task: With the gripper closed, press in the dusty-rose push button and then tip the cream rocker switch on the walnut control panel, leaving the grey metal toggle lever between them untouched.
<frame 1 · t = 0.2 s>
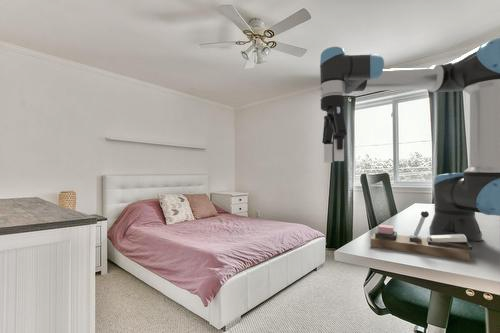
hand: (333, 162, 82), 27 cm above the table, tool pointing down, fingers open, 13 cm apart
toggle lever: (420, 223, 77), point 8 cm above the table, hinge at -20.0°
push button: (386, 229, 82), point 5 cm above the table, slide at 0.0 cm
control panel: (415, 248, 78), on the table
rocker switch: (447, 238, 73), point 4 cm above the table, hinge at 10.0°
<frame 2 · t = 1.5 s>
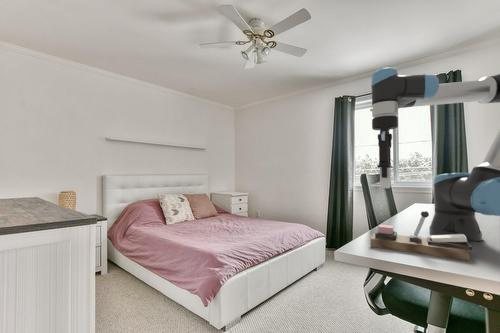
hand: (385, 187, 82), 19 cm above the table, tool pointing down, fingers open, 4 cm apart
nothing on the table moved.
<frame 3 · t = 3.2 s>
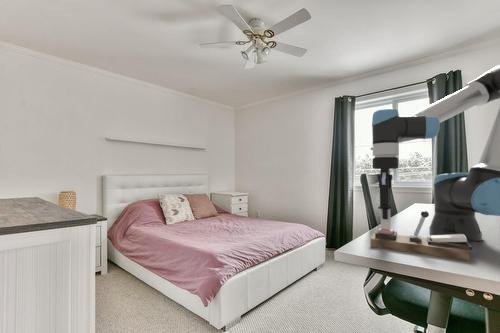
hand: (385, 228, 82), 5 cm above the table, tool pointing down, fingers closed
push button: (386, 232, 82), point 4 cm above the table, slide at 1.1 cm, touching gripper
everything else where it was.
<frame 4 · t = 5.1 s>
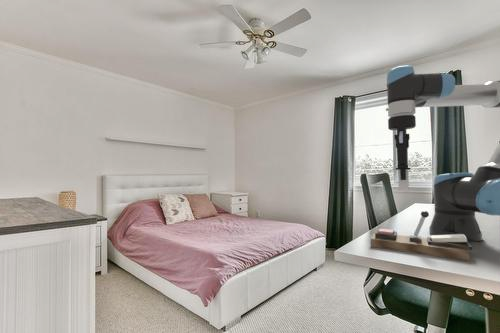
hand: (403, 190, 80), 18 cm above the table, tool pointing down, fingers closed
push button: (386, 233, 82), point 4 cm above the table, slide at 1.4 cm
everything else where it was.
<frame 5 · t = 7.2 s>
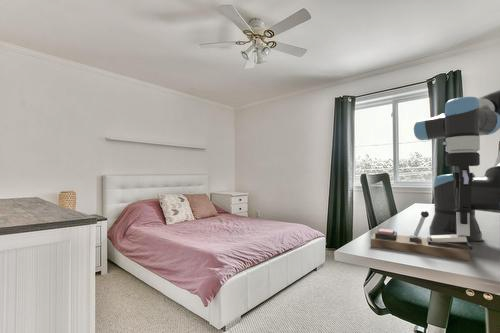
hand: (463, 234, 72), 6 cm above the table, tool pointing down, fingers closed
rocker switch: (447, 238, 73), point 4 cm above the table, hinge at 10.0°, touching gripper
everything else where it was.
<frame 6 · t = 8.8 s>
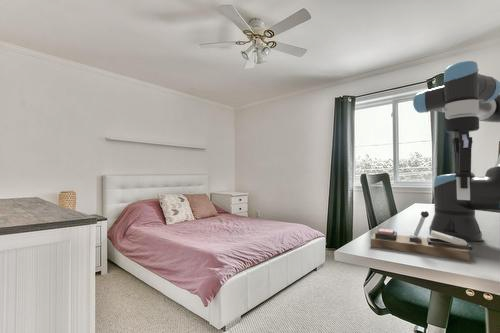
hand: (463, 199, 72), 16 cm above the table, tool pointing down, fingers closed
rocker switch: (448, 238, 73), point 4 cm above the table, hinge at -14.5°
everything else where it was.
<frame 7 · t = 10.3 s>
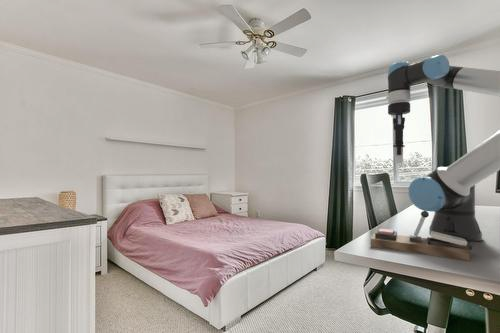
hand: (398, 163, 98), 27 cm above the table, tool pointing down, fingers closed
rocker switch: (448, 238, 73), point 4 cm above the table, hinge at -10.0°
everything else where it was.
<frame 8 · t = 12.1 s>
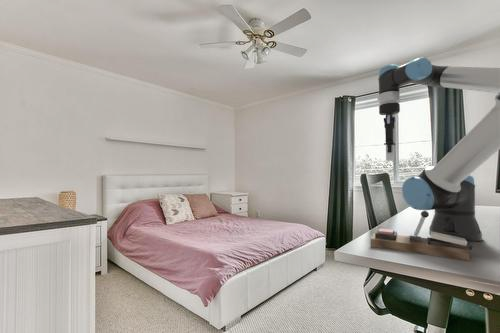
hand: (389, 160, 104), 28 cm above the table, tool pointing down, fingers closed
rocker switch: (448, 238, 73), point 4 cm above the table, hinge at -8.3°
everything else where it was.
at the end: push button slide at 1.4 cm; rocker switch at -8° (first picture: +10°); toggle lever at -20° (first picture: -20°) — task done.
